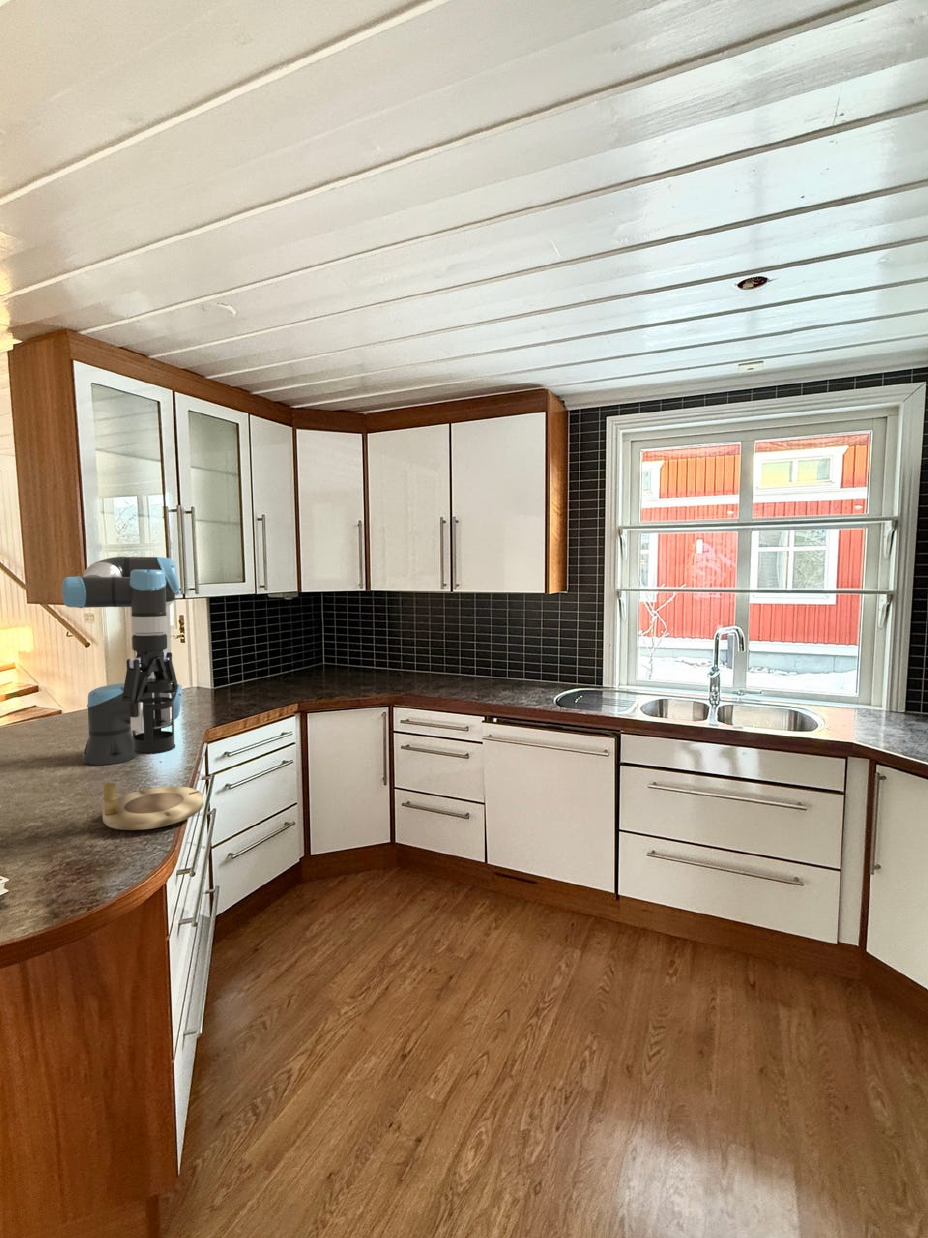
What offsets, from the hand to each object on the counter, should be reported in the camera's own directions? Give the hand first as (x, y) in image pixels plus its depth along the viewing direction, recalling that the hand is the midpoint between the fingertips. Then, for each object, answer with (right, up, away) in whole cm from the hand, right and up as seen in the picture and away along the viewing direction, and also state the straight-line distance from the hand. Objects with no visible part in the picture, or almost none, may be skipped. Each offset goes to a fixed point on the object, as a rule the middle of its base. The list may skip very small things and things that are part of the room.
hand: (152, 724), depth 146 cm
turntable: (0, -22, +2) cm, 22 cm away
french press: (0, -7, +1) cm, 7 cm away
